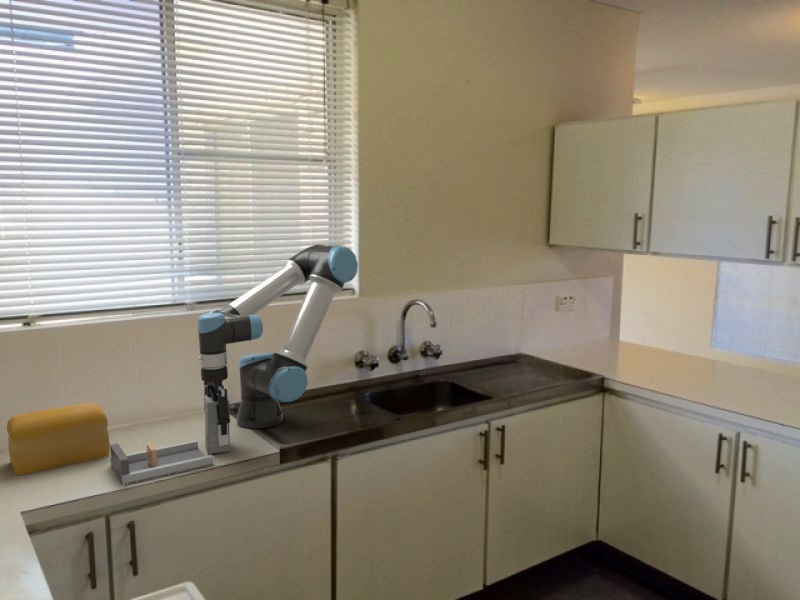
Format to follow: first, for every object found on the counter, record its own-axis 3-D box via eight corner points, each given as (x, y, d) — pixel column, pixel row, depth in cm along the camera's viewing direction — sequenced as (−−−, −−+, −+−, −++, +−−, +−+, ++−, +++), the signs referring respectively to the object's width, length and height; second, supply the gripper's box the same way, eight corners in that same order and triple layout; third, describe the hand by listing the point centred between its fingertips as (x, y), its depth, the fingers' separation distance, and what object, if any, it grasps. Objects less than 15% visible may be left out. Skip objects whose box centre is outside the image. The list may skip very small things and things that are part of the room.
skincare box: (205, 446, 201) (201, 395, 199) (229, 442, 204) (225, 392, 202) (208, 455, 194) (204, 402, 192) (233, 451, 196) (229, 398, 194)
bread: (101, 443, 205) (97, 396, 203) (111, 456, 195) (107, 406, 193) (9, 462, 191) (4, 411, 189) (15, 476, 181) (10, 423, 178)
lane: (196, 447, 200) (195, 427, 199) (213, 464, 187) (212, 442, 186) (111, 465, 187) (109, 443, 186) (123, 485, 174) (121, 461, 173)
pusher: (152, 460, 188) (150, 443, 188) (157, 466, 183) (156, 449, 183) (147, 460, 188) (146, 443, 187) (152, 467, 183) (151, 450, 182)
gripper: (190, 361, 202) (194, 432, 206) (213, 376, 184) (217, 453, 188) (214, 357, 206) (218, 427, 210) (239, 371, 188) (243, 448, 192)
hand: (218, 440), depth 199 cm, fingers closed on skincare box, 9 cm apart
